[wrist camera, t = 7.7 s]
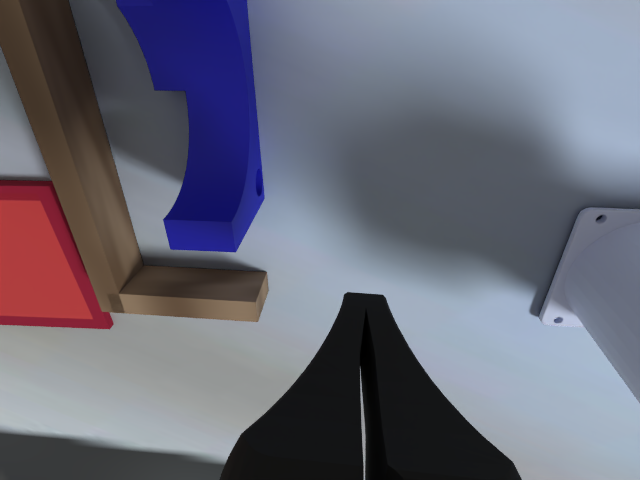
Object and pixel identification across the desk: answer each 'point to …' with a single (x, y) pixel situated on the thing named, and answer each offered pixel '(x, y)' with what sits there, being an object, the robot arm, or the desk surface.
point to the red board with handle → (42, 262)
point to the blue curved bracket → (207, 114)
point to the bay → (103, 178)
